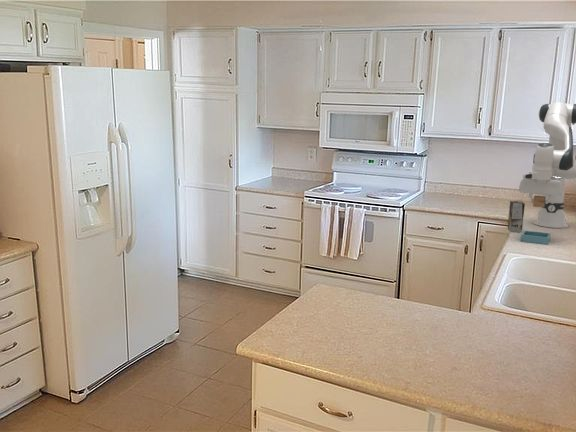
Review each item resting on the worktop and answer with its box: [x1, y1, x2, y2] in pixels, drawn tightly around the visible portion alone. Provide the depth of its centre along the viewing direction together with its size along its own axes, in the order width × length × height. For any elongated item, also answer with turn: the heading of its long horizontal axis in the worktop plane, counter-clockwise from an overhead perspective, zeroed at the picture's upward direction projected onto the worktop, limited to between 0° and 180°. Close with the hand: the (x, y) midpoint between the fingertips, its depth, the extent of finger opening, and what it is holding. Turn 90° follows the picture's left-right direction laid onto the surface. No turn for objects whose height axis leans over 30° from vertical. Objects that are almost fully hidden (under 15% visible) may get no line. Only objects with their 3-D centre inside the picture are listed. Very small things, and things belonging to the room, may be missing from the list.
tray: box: [520, 230, 551, 245], centre depth 291 cm, size 13×13×4 cm
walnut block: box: [532, 195, 546, 208], centre depth 288 cm, size 5×5×5 cm
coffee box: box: [507, 200, 526, 233], centre depth 315 cm, size 9×6×16 cm
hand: (539, 203), depth 288 cm, fingers closed on walnut block, 5 cm apart
